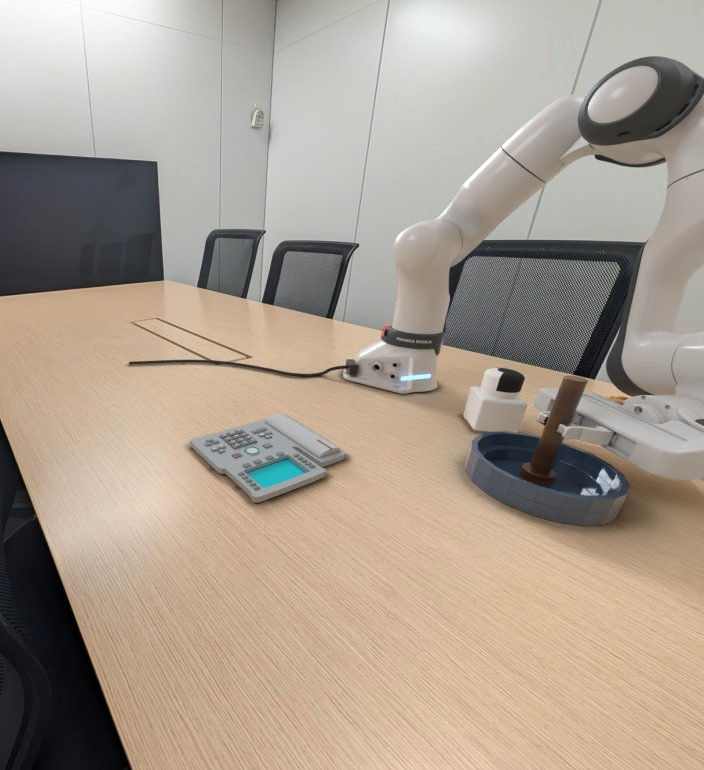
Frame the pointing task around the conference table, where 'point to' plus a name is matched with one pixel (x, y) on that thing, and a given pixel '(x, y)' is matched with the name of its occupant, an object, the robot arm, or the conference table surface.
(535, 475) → the stirring stick
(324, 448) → the office telephone
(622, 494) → the bowl
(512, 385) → the medicine bottle
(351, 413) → the conference table surface
